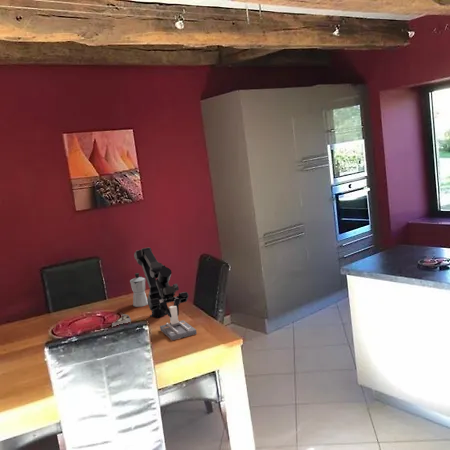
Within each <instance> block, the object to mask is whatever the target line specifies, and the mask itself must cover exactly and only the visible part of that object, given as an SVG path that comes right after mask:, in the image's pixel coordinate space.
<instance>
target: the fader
mask: <svg viewBox="0 0 450 450" xmlns="http://www.w3.org/2000/svg"><path fill="white" fill-rule="evenodd" d="M168 309H169V311H170V313H171V317H169V321H170V322H168V323H169V324H170V325H171V326H172V327H173V326H177V325H180V323H179V322H178V321H179V315H178V313H177V306H175V305H174V304H173V305H170V306H168Z"/></svg>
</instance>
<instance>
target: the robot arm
mask: <svg viewBox="0 0 450 450" xmlns="http://www.w3.org/2000/svg"><path fill="white" fill-rule="evenodd" d="M133 254H134V255H133V257H134V260H136V262H137V264H138V265H139V266H141V267H142V270H143V274H144V276H145V277H144V278H145V281H146V282H147V286H148V288H149V292H148V297H147V302H148V304H147V306H148V307H149V310H150V311H151V314H150V315H149V317H151V318H157V319H160V318H162V317H164V316H166V315H167V316H168V317H169V318H170V317H171V313H170V311H169V306H168V304H169V303H172V302H173V306H174V305H175V306H177V313H178V316H179V312H180V311H179V310H180V309H179V305H180V304H183V303H186V302H187V301H188V299H189V293H188V292H187V291H182V292H179V293H178V296H175V295H176V292H178V291H179V289H180V288H179V285H178V283H174V284H172V285H170V283H169V282H170V279H171V276H172V273H173V272H172V270H171V269H170V268H169V267H167V266H166V265H164V264H163V263H162V262H159V261H158V260H157V258H156V257H155V254H154V253H153V251H152V248H151V247H143V248H141V249H137V250H135V252H133Z"/></svg>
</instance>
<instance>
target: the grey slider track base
mask: <svg viewBox="0 0 450 450" xmlns="http://www.w3.org/2000/svg"><path fill="white" fill-rule="evenodd" d="M178 322H179V323H180V325H177V326H173V327H172V326H171V325H170V324H169V323H170V322H166V324H163V325H160V326H159V328H160V329H159V330H160V331H161V332H162V333H163V334H164V335H165V336H166V337H168V338H169V340H171V341H175V340H180V339H183V338H186V337H190V336H194V335H197V329H196V328H195V327H193V326H192V325H190V324H189V323H188V322H187V321H185V320H180V321H179V320H178Z"/></svg>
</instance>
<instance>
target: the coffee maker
mask: <svg viewBox="0 0 450 450" xmlns="http://www.w3.org/2000/svg"><path fill="white" fill-rule="evenodd" d="M134 276H135V277H134V278H132V279H130V280H129V283H130V287H131V290H132V292H133V293H132V294H133V295H132V306H133V307H135V308H142V307H144V306H145V307H146V306H148V302H147V300H148V297H147V294H146V277H143V276H142V275H141V276H140V273H139V272H136V273H134Z"/></svg>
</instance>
